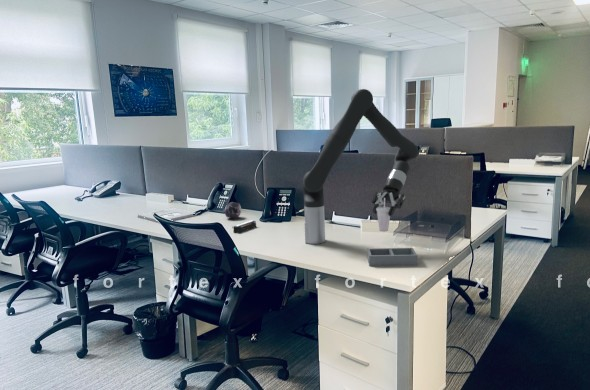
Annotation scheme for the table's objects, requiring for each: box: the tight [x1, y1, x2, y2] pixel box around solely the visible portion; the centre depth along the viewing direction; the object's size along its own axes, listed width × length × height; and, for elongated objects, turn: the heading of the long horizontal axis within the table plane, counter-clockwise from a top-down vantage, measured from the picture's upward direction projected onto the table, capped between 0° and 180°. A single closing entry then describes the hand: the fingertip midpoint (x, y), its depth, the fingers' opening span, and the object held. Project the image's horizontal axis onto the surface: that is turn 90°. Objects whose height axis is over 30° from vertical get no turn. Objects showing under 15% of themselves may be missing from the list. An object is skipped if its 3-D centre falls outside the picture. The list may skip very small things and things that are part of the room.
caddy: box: [366, 247, 418, 267], centre depth 167 cm, size 18×10×4 cm, turn 85°
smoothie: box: [376, 198, 391, 233], centre depth 179 cm, size 6×6×14 cm
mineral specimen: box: [224, 201, 242, 219], centre depth 254 cm, size 10×10×10 cm
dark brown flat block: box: [231, 219, 257, 234], centre depth 228 cm, size 14×25×4 cm, turn 146°
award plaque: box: [137, 207, 198, 224], centre depth 269 cm, size 25×30×2 cm
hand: (382, 214), depth 177 cm, fingers closed on smoothie, 6 cm apart
